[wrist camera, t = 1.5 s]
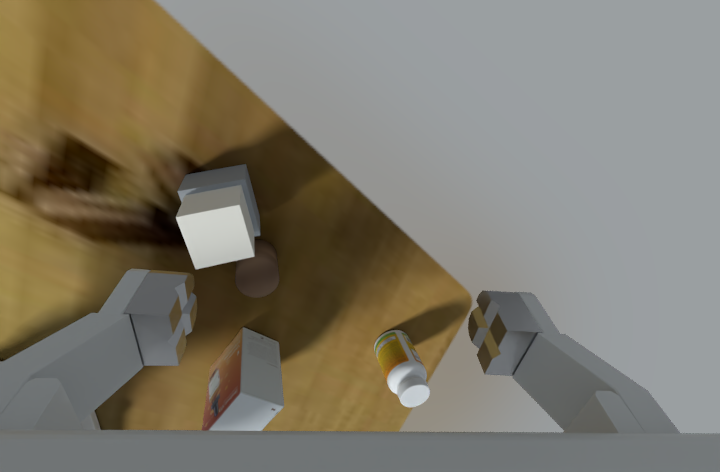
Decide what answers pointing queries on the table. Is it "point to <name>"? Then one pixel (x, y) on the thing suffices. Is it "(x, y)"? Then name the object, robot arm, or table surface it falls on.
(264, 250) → the walnut cylinder
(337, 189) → the table surface
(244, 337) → the small box
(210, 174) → the base block
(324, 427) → the table surface
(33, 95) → the table surface
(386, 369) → the supplement bottle
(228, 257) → the top block
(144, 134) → the table surface
